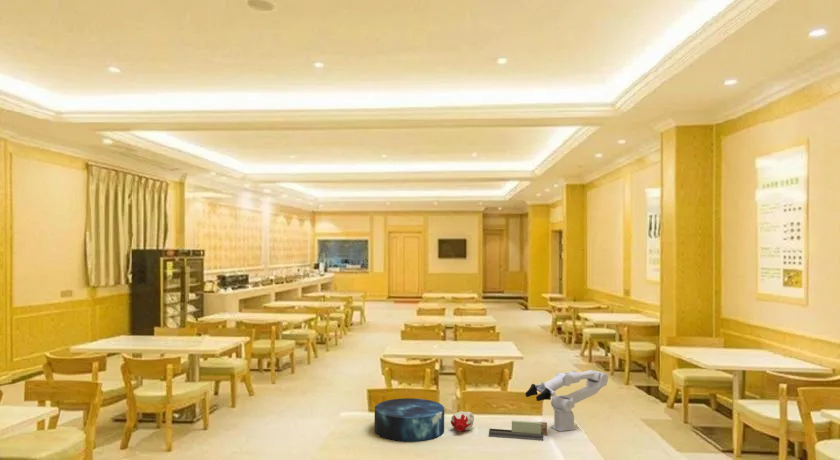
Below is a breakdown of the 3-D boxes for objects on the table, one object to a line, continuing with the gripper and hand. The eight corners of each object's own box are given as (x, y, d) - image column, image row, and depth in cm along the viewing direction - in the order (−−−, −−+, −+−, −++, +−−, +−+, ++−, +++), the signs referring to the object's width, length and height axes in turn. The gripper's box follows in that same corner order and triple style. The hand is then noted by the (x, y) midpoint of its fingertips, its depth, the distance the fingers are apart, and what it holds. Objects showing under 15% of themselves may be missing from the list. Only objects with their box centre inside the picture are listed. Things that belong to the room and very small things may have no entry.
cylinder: (360, 428, 290) (361, 405, 291) (414, 416, 312) (415, 394, 313) (402, 448, 263) (403, 422, 263) (458, 433, 285) (458, 409, 285)
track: (542, 435, 281) (542, 431, 281) (543, 440, 274) (543, 435, 274) (489, 431, 286) (489, 427, 286) (488, 436, 280) (488, 431, 280)
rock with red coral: (474, 425, 294) (470, 438, 280) (452, 423, 296) (448, 436, 282) (474, 408, 293) (471, 421, 279) (452, 407, 296) (448, 419, 281)
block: (536, 431, 288) (536, 421, 288) (546, 432, 287) (546, 422, 287) (536, 435, 283) (536, 424, 283) (547, 435, 282) (547, 425, 282)
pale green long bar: (540, 434, 279) (541, 422, 279) (540, 436, 277) (541, 423, 277) (511, 432, 282) (511, 420, 282) (511, 433, 280) (511, 421, 280)
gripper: (539, 375, 296) (520, 385, 289) (560, 382, 283) (540, 393, 276) (542, 388, 297) (522, 398, 290) (562, 395, 284) (542, 406, 277)
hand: (531, 397), depth 283 cm, fingers open, 7 cm apart
